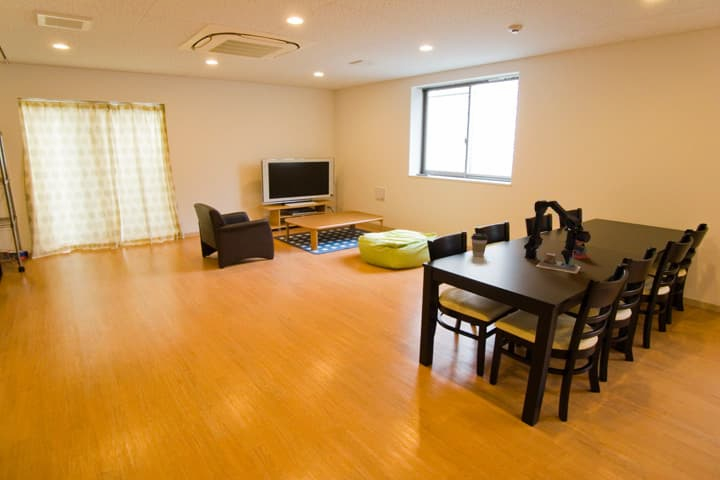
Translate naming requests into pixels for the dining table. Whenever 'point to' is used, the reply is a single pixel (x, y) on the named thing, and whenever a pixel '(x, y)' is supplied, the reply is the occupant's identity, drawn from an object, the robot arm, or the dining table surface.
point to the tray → (559, 266)
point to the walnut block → (550, 258)
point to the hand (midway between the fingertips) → (568, 263)
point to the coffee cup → (479, 244)
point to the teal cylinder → (569, 263)
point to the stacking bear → (578, 254)
